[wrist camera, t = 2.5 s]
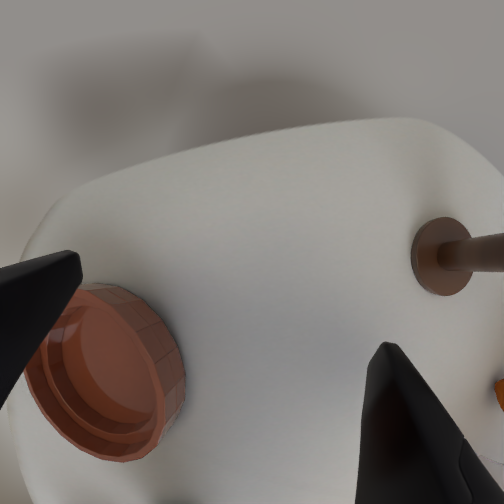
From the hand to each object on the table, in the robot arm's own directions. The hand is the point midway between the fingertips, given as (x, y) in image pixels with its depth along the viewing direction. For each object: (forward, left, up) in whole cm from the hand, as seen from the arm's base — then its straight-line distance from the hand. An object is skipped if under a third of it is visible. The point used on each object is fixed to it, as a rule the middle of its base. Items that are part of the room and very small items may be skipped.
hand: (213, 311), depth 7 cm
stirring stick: (-6, -13, -13) cm, 20 cm away
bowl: (0, +15, -13) cm, 20 cm away
